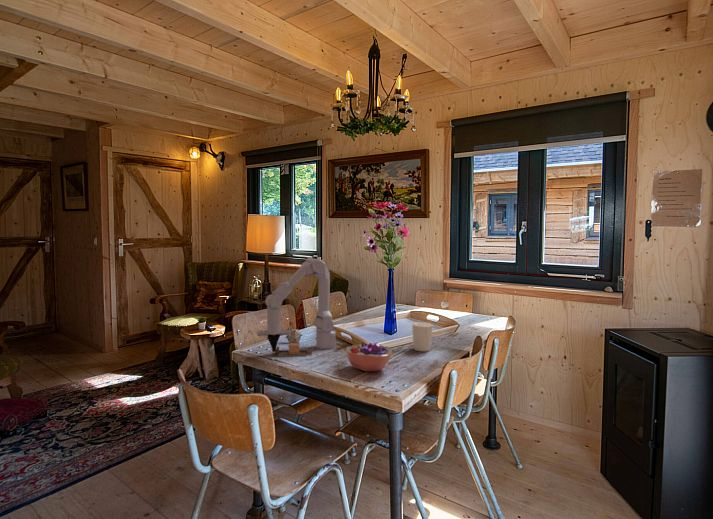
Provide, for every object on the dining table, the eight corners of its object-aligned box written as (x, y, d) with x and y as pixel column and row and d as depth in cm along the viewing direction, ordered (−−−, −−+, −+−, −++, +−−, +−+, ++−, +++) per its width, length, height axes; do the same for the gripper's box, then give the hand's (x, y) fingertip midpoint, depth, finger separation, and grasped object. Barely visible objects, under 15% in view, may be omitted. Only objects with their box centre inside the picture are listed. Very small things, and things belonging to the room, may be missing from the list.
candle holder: (407, 349, 207) (407, 324, 206) (419, 345, 214) (419, 321, 213) (424, 353, 200) (425, 327, 200) (436, 348, 208) (436, 324, 207)
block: (299, 352, 197) (299, 342, 197) (299, 355, 193) (298, 345, 192) (289, 352, 197) (289, 342, 197) (288, 355, 192) (288, 345, 192)
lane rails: (306, 353, 199) (306, 349, 199) (306, 358, 191) (306, 354, 191) (276, 354, 198) (276, 350, 198) (274, 359, 190) (274, 355, 190)
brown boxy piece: (312, 353, 199) (312, 346, 198) (311, 357, 193) (311, 349, 192) (277, 354, 197) (276, 346, 197) (275, 358, 191) (275, 350, 191)
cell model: (359, 360, 190) (359, 334, 189) (399, 368, 178) (400, 341, 178) (336, 370, 176) (336, 343, 175) (378, 380, 164) (378, 351, 164)
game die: (296, 351, 215) (298, 339, 209) (281, 345, 216) (282, 332, 210) (304, 339, 222) (306, 327, 215) (289, 333, 223) (291, 320, 217)
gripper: (255, 323, 189) (256, 354, 189) (289, 323, 190) (289, 353, 191) (258, 320, 196) (258, 349, 197) (290, 319, 197) (290, 348, 198)
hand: (274, 351), depth 194 cm, fingers closed
